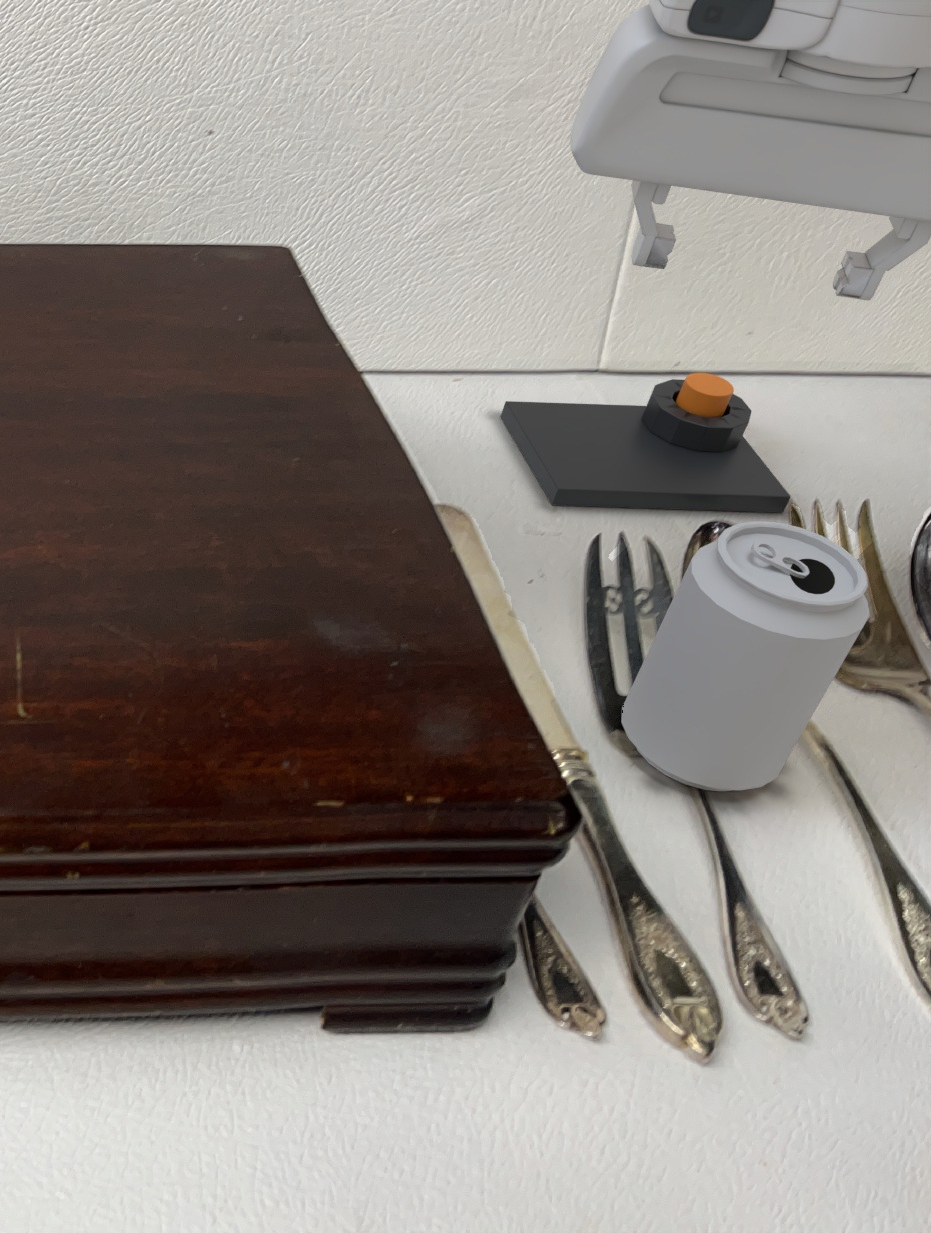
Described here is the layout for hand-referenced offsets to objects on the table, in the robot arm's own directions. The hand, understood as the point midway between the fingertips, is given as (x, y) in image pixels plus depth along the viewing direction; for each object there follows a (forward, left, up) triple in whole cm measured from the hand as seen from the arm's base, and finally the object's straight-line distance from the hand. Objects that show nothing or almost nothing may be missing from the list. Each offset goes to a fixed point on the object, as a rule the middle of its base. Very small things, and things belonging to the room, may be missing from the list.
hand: (747, 278), depth 79 cm
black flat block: (-5, -11, -18) cm, 21 cm away
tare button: (-9, -13, -15) cm, 22 cm away
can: (+2, +15, -18) cm, 24 cm away
